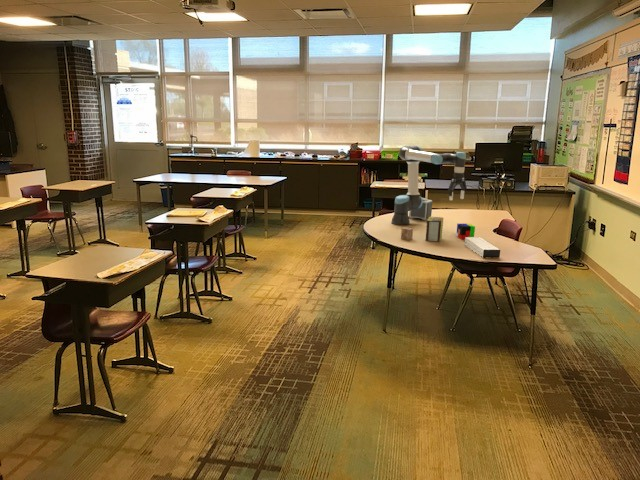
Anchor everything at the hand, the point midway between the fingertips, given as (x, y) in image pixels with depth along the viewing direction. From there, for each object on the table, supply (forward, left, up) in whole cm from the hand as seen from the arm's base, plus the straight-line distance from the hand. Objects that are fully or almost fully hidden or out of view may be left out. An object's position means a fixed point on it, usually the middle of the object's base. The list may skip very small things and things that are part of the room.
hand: (456, 199), depth 390 cm
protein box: (+1, -32, -27) cm, 42 cm away
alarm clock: (-47, +26, -27) cm, 60 cm away
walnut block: (-13, -47, -26) cm, 56 cm away
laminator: (+41, -38, -27) cm, 62 cm away
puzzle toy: (+15, -10, -27) cm, 32 cm away
